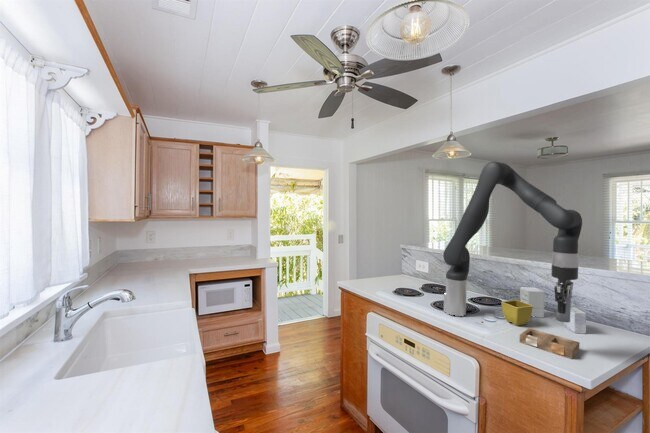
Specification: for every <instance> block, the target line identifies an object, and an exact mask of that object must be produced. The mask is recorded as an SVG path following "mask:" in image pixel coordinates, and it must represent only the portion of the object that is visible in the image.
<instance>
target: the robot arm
mask: <svg viewBox="0 0 650 433" xmlns="http://www.w3.org/2000/svg"><path fill="white" fill-rule="evenodd" d="M497 185H501V186H503V187H506V188H507V189H509V190H511V191H512V192H514V193H515V194H516V195H517V196H518V198H519V199H520V200H521V201H522V202H523V203H524V204H525V205H527V206H528V207H529V208H531V209H532V210H534V211H535V212H537V213H539V214H540V215H541V216H542V218H544V220H545V221H546V222H547V223H548V224H550V225H551V226H553V227H554V228H556V229H558V231H557V235H556V236H555V237H554V238H553V243H552V255H551V276H552V277H553V278H555V279H557V282H555V286H554V288H553V289H554V301H555V302H556V303H557V302H558V309H557V308H556V309H557V312H558V313H562V314H565V313H566V298H567V297H568V296H569V293H570V294H571V298H572V297H573V287H574V282H573V281H575V280H578V278H579V254H578V253H579V238H580V236H581V231H582V227H583V218H582V215H581V214H580V213H579V212H578V211H576V210H574V209H565V208H564V207H562V206H561V205H559V204H558V203H557V200H556V199H554V197H552V196H550V195H549V194H548V193H546V192H544V191H542V190H541V189H539V187H536V186H535V185H533V184H532V183H530V182H529V181H527V180H526V179H524V178H523V177H522V176H521V175H520V174H519V173H517V171H515V170H514V169H513V168H512V167H511V166H510V165H509V164H507V163H504V162H500V161H490V162H487V163H486V164H485V165H484V166H483V168H482V169H481V173H480V175H479V178H478V181H477V184H476V186H475V189H474V191H473V193H472V196H471V198H470V201H469V202H468V205H466V208H465V210H464V212H463V214H462V217H461V219H460V221H459V224H458V225H457V228H456V230H455V232H454V233H453V236H452V238H451V239H450V240H449V241H448V244H447V245H446V247H445V249H444V251H443V255H442V257H443V260H444V262H445V264H447V265H449V266H450V267H449V269H448V270H447V271H446V273H445V274H446V276H445V292H444V293H443V313H445V312H446V313H445V314H447V315H449V314H450V315H449V316H451V315H455V316H454V317H457V316H462V317H464V316H463V315H465V316H466V315H467V292H468V291H467V287H468V284H467V281H468V275H469V272H470V261H471V260H470V259H471V255H470V252H469V249H468V248H467V247H466V246H467V244H468V243H469V241H471V239H472V238H473V237H474V236H475V235H476V234H477V233H478V232H479V230H481V229H482V228H483V225H484V223H485V221H486V219H487V217H488V215H489V211H490V198H491V195H492V193H493V191H494V189H495V187H496V186H497ZM564 294H565V295H564ZM560 297H562V299H560Z"/></svg>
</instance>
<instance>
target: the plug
mask: <svg viewBox="0 0 650 433" xmlns="http://www.w3.org/2000/svg"><path fill="white" fill-rule="evenodd" d="M564 295H565V294H564ZM560 299H562V297H560ZM571 303H572V297H571V294H570V293H569V296H568V297H567V298H566V313H565V314H562V313H558V312H557V309H558V302H557V301H556V309H555V310H556V312H555V313H556V314H555V319H556V321H558V322H561V323H564V322H570V312H571V307H572V304H571Z"/></svg>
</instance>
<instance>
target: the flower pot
mask: <svg viewBox="0 0 650 433" xmlns="http://www.w3.org/2000/svg"><path fill="white" fill-rule="evenodd" d="M500 303H501V310H502V314H503V316H504V319H505V320H506V321H507V322H508V321H509V322H508V323H510V322H512V323H513V324H512V323H511V324H512V325H514V324H515V325H514V326H523V325H527V324H528V323H529V321H530V320H531V318H532V317H531V314H532V309H533V306H532V305H529V304H526V303H523V302H520V300H517V299H514V300H506V301H501V302H500Z"/></svg>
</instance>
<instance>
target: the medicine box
mask: <svg viewBox="0 0 650 433" xmlns="http://www.w3.org/2000/svg"><path fill="white" fill-rule="evenodd" d="M563 326H564V327H565V328H567V329H568V330H569V331H571V332H573V333H574V334H584V335H586V333H587V313H586V312H584V311H582V310H581V309H578V308H577V307H574V306H571V312H570V322H563Z"/></svg>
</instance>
